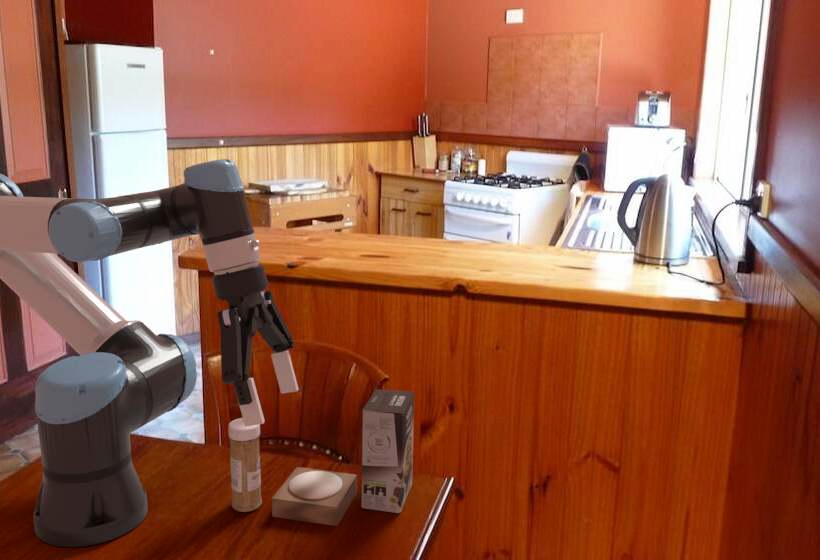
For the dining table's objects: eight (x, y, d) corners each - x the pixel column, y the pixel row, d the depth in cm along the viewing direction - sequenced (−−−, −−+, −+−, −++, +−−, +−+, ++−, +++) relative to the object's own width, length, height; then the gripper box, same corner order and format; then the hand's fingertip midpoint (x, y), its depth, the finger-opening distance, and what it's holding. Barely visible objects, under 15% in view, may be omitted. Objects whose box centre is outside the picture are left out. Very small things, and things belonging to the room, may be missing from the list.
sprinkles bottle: (263, 510, 110) (261, 427, 107) (232, 515, 109) (229, 430, 106) (260, 495, 114) (257, 414, 111) (230, 499, 113) (226, 418, 110)
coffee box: (401, 514, 110) (403, 413, 106) (360, 509, 111) (360, 409, 107) (413, 484, 118) (416, 390, 115) (375, 480, 120) (375, 387, 116)
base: (272, 516, 108) (271, 495, 108) (297, 483, 118) (297, 464, 117) (337, 526, 106) (336, 504, 106) (357, 492, 116) (357, 472, 115)
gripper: (221, 279, 93) (263, 436, 96) (291, 250, 117) (323, 376, 120) (169, 290, 95) (212, 444, 98) (248, 259, 119) (281, 383, 122)
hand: (273, 407), depth 109 cm, fingers open, 13 cm apart
